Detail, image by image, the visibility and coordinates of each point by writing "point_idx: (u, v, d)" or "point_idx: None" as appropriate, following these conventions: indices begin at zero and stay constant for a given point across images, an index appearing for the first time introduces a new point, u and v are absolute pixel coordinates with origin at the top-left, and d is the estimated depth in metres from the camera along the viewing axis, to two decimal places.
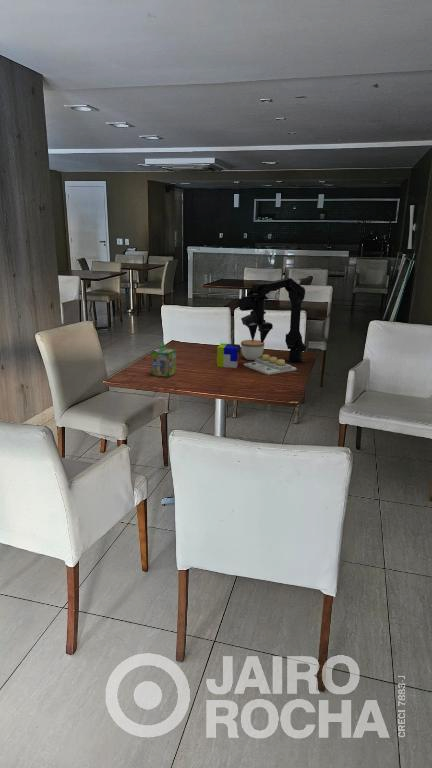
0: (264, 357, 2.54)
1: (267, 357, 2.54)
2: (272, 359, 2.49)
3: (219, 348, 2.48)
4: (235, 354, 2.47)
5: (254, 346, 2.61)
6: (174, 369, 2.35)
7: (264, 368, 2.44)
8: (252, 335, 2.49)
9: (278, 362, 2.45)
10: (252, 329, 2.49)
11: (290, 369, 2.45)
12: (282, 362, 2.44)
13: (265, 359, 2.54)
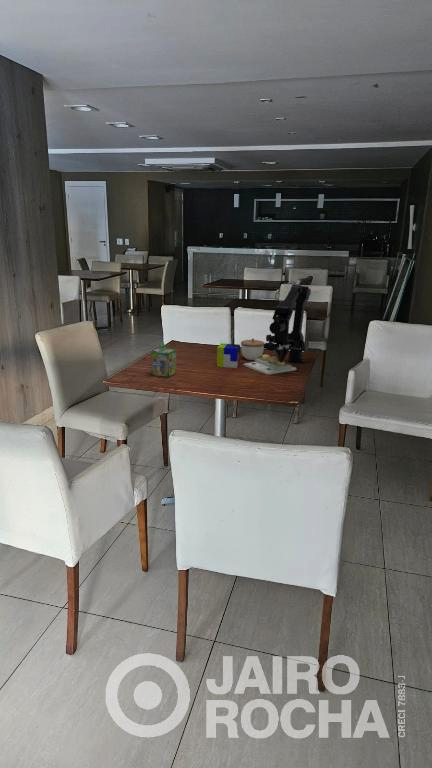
0: (264, 357, 2.54)
1: (267, 357, 2.54)
2: (272, 359, 2.49)
3: (219, 348, 2.48)
4: (235, 354, 2.47)
5: (254, 346, 2.61)
6: (174, 369, 2.35)
7: (264, 368, 2.44)
8: None
9: (278, 364, 2.45)
10: None
11: (290, 369, 2.45)
12: (282, 364, 2.44)
13: (265, 359, 2.54)
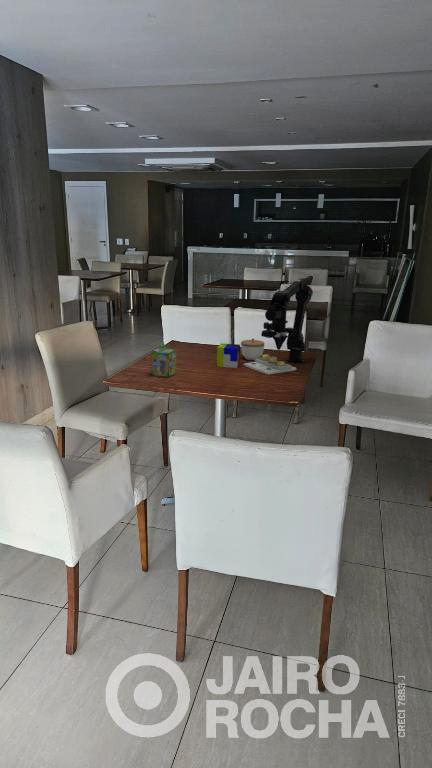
0: (264, 357, 2.54)
1: (267, 357, 2.54)
2: (272, 359, 2.49)
3: (219, 348, 2.48)
4: (235, 354, 2.47)
5: (254, 346, 2.61)
6: (174, 369, 2.35)
7: (264, 368, 2.44)
8: None
9: (278, 364, 2.45)
10: None
11: (290, 369, 2.45)
12: (282, 364, 2.44)
13: (265, 359, 2.54)
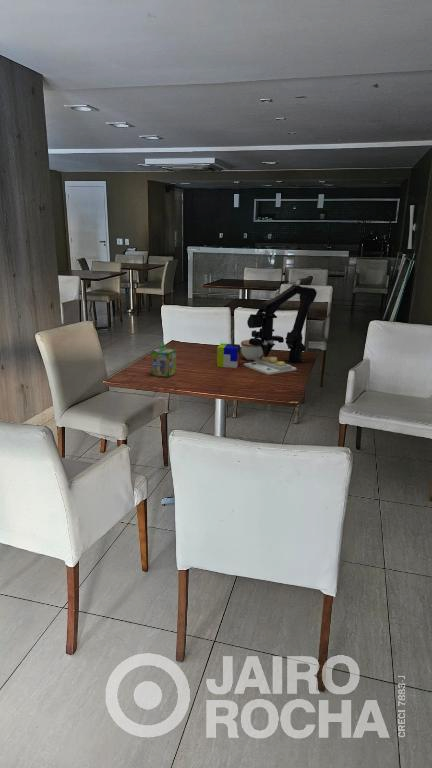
0: (264, 359, 2.54)
1: (267, 359, 2.54)
2: (272, 359, 2.49)
3: (219, 348, 2.48)
4: (235, 354, 2.47)
5: (254, 346, 2.61)
6: (174, 369, 2.35)
7: (264, 368, 2.44)
8: None
9: (278, 364, 2.45)
10: None
11: (290, 369, 2.45)
12: (282, 364, 2.44)
13: None
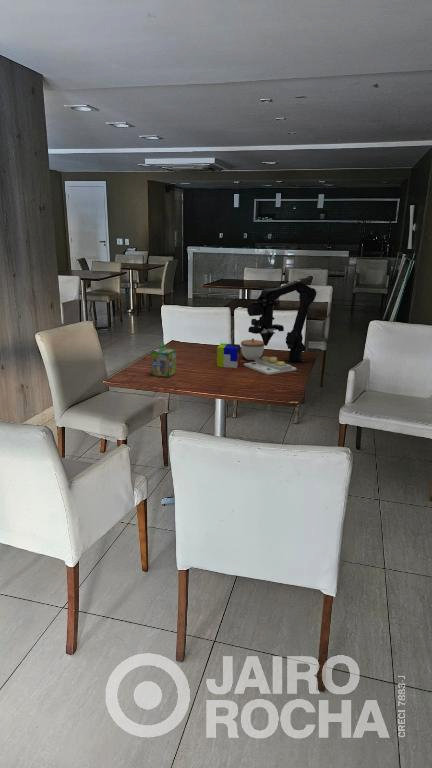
0: (264, 359, 2.54)
1: (267, 359, 2.54)
2: (272, 359, 2.49)
3: (219, 348, 2.48)
4: (235, 354, 2.47)
5: (254, 346, 2.61)
6: (174, 369, 2.35)
7: (264, 368, 2.44)
8: None
9: (278, 364, 2.45)
10: None
11: (290, 369, 2.45)
12: (282, 364, 2.44)
13: None
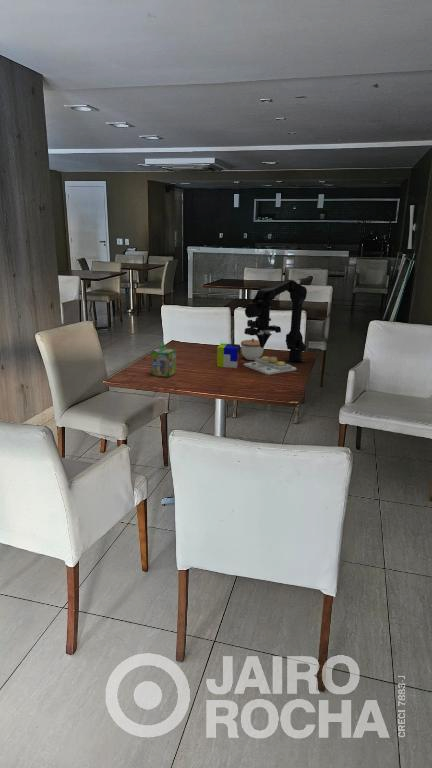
0: (264, 359, 2.54)
1: (267, 359, 2.54)
2: (272, 359, 2.49)
3: (219, 348, 2.48)
4: (235, 354, 2.47)
5: (254, 346, 2.61)
6: (174, 369, 2.35)
7: (264, 368, 2.44)
8: None
9: (278, 364, 2.45)
10: None
11: (290, 369, 2.45)
12: (282, 364, 2.44)
13: None
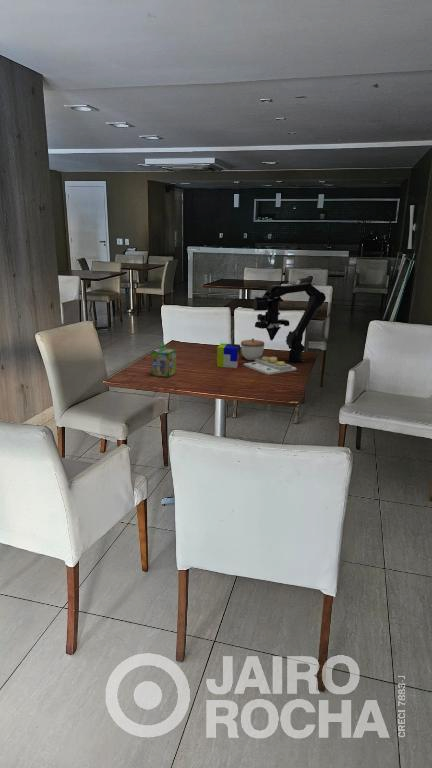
0: (264, 359, 2.54)
1: (267, 359, 2.54)
2: (272, 359, 2.49)
3: (219, 348, 2.48)
4: (235, 354, 2.47)
5: (254, 346, 2.61)
6: (174, 369, 2.35)
7: (264, 368, 2.44)
8: None
9: (278, 364, 2.45)
10: None
11: (290, 369, 2.45)
12: (282, 364, 2.44)
13: None
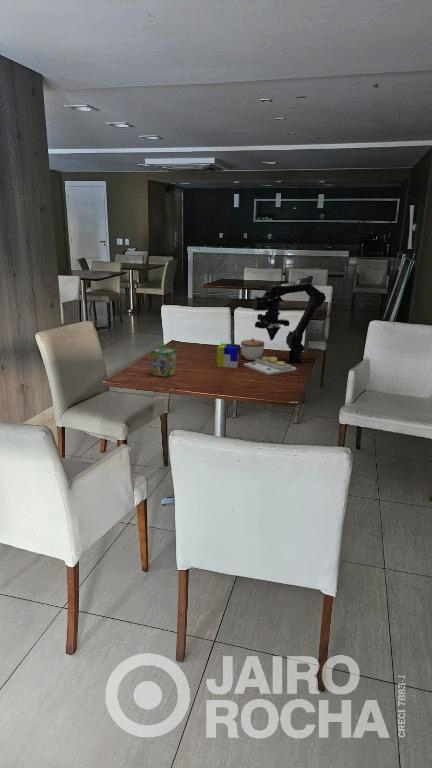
0: (264, 359, 2.54)
1: (267, 359, 2.54)
2: (272, 359, 2.49)
3: (219, 348, 2.48)
4: (235, 354, 2.47)
5: (254, 346, 2.61)
6: (174, 369, 2.35)
7: (264, 368, 2.44)
8: None
9: (278, 364, 2.45)
10: None
11: (290, 369, 2.45)
12: (282, 364, 2.44)
13: None
